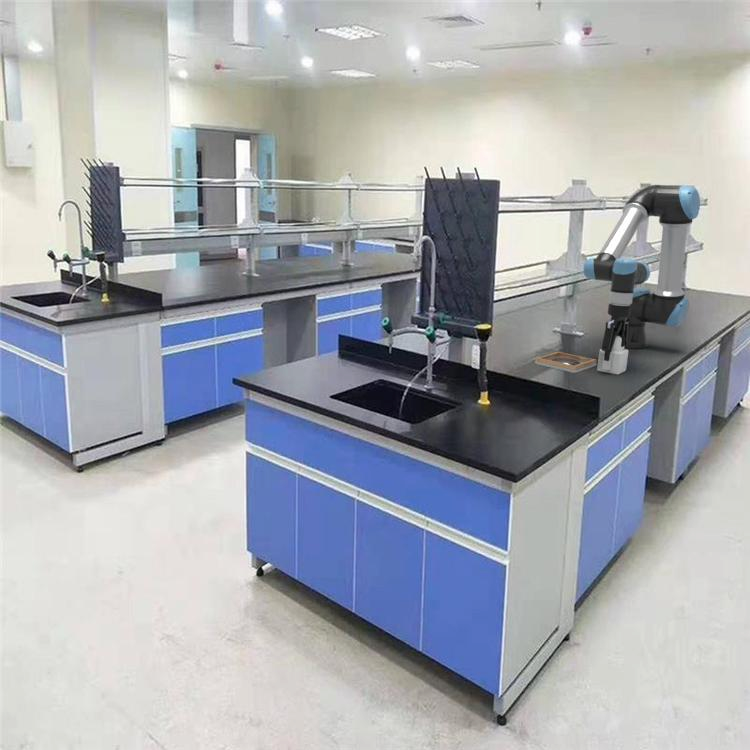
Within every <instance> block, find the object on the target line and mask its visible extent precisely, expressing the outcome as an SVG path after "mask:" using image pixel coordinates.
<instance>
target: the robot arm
mask: <svg viewBox="0 0 750 750" xmlns="http://www.w3.org/2000/svg"><path fill="white" fill-rule="evenodd" d="M700 197H701V196H700V194H699V191H698V189H697V188H696V187H695V186H691V185H690V186H688V185H684V184H683V185H679V184H678V185H677V184H676V185H675V184H673V185H672V184H671V185H666V184H651V185H648V186H646V187H644V188H642V189H639V190H638V191H637V192H635V194H633V195H632V196H631V197H630V198H629V199H628V200H627V202H626V203H625V205H624V206H623V208H622V214H621V216H620V218H619V220H618V221H617V223H616V224H615V226H614V228H613V230H612V231H611V232H610V234H609V236H608V238H607V240H606V241H605V243H604V245H603V247H602V248H601V250H600V251H599V253H598V255H597V256H596V258H595V257H590V258H588V259H587V260H586V261H585V262H584V266H583V274H584V277H585V278H586V279H590V280H594V281H604V282H611V285H610V292H609V293H608V294H609V295H608V296H609V300H608V301H609V304H608V306H607V307H608V308H607V314H608V315H610V317H611V318H610V321H609V322H608V321H606V322H605V331H604V335H603V340H602V345H601V349H602V351H604V359H603V367H602V369H605V370H610V369H611V362H612V354H613V352H611V351H612V348H613V345H614V342H615V338H616V335H617V334H618V335H622V336H624V337H625V338H626V339H625V346H624V349H636V348H637V349H645V348H647V346H648V337H647V333H646V323H648V324H654V325H655V324H656V325H661V326H665V327H679V326H680V325H681V324H683V321H684V320H685V318H686V316H687V313H688V310H689V306H690V300H689V298H687V297H685V291H684V289H682V280H683V271H684V270H683V269H684V262H685V261H684V260H685V251H686V243H687V233H688V227H689V226H690V225H691V224H692V223H693V220H694V219H696V218H697V217H698V215H699V212H700V209H701V208H700V207H701V198H700ZM649 217H658V218H659V219H658V223H659V224H660V226H662V231H661V243H660V252H659V253H660V255H659V266H658V276H657V285H656V287H655V289H654V290H652V293H651V289H649V288H635V286H636V285H642V284H644V283H645V282H647V280H649V278H650V276H651V269H650V267H649V265H648V264H647V263H645V262H639V261H637V260H636V259H633V258H622V256H623V254H624V252H625V251H626V249H627V248H628V246H629V244H630V242H631V240H632V239H633V238H634V236H635V234H636V232H637V230H638V229H639V227H640V225H641V224H642V223H644V222H645V221H646V220H647V218H649Z"/></svg>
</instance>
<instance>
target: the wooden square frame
mask: <svg viewBox="0 0 750 750" xmlns="http://www.w3.org/2000/svg"><path fill="white" fill-rule="evenodd" d="M534 364H535V365H538V366H542V367H546V368H547V367H548V368H551V369H556V370H559V371H560V370H561V371H564V372H568V373H573V374H576V373H579V372H582V371H585V370H587V369H588V370H589V369H591V368H593V367H596V366H597V365H598V362H597V359H595V358H589V357H585V356H580V355H577V354H576V355H575V354H572V353H566V352H562V351H555V352H552V353H549V354H545V355H543V356H539V357H536V358H535V361H534Z"/></svg>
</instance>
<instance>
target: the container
mask: <svg viewBox="0 0 750 750" xmlns="http://www.w3.org/2000/svg"><path fill="white" fill-rule="evenodd" d="M625 339H626V338H625V337H624V336H622V335H618V334H617V335H616V338H615V342H614V345H613V348H612V351H611V352H613V354H612V362H611V369H610V370H605V369H602V367H603V359H604V351H602V348H600V349H599V352H598V359H597V369H596V371H599V372H603V373H607V374H608V373H609V374H613V375H620V374H622V373H624V372H626V370H627V365H628V356H629V349H627V348H624V346H625Z"/></svg>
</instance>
